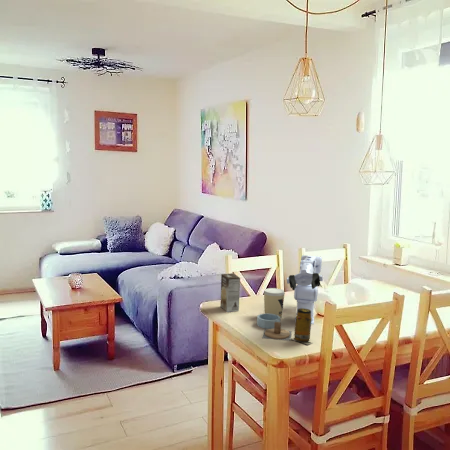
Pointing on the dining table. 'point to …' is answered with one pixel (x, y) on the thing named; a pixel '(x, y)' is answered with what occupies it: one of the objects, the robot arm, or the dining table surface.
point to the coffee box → (230, 292)
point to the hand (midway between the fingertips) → (302, 287)
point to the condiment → (303, 326)
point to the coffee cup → (273, 301)
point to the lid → (277, 332)
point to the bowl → (267, 320)
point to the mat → (277, 339)
